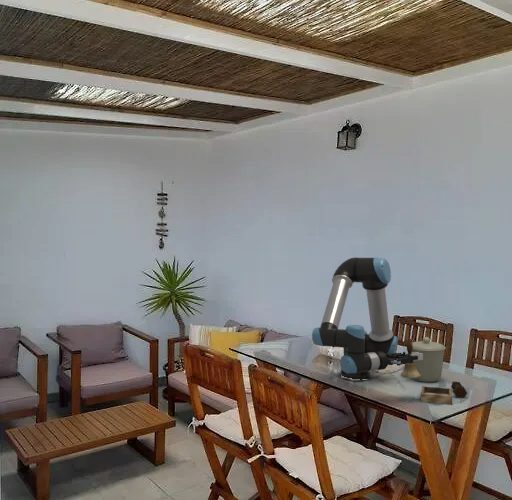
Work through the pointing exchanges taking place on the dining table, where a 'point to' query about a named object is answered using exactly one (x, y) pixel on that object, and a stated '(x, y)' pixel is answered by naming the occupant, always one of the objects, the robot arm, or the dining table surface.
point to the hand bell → (410, 364)
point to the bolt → (458, 390)
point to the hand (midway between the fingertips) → (420, 355)
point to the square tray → (436, 395)
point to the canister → (429, 360)
